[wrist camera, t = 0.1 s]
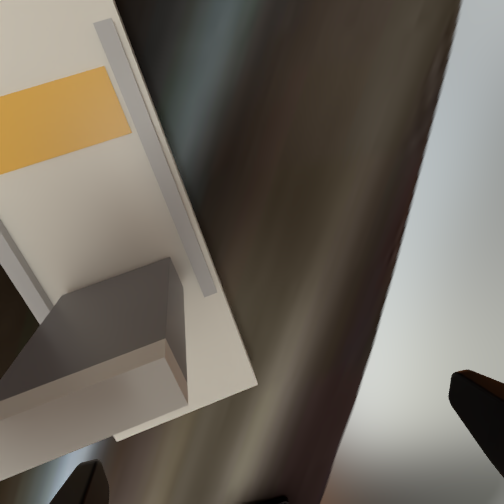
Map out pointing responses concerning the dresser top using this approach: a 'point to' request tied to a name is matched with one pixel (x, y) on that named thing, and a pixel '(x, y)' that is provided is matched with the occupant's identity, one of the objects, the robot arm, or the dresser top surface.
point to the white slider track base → (100, 182)
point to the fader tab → (96, 367)
